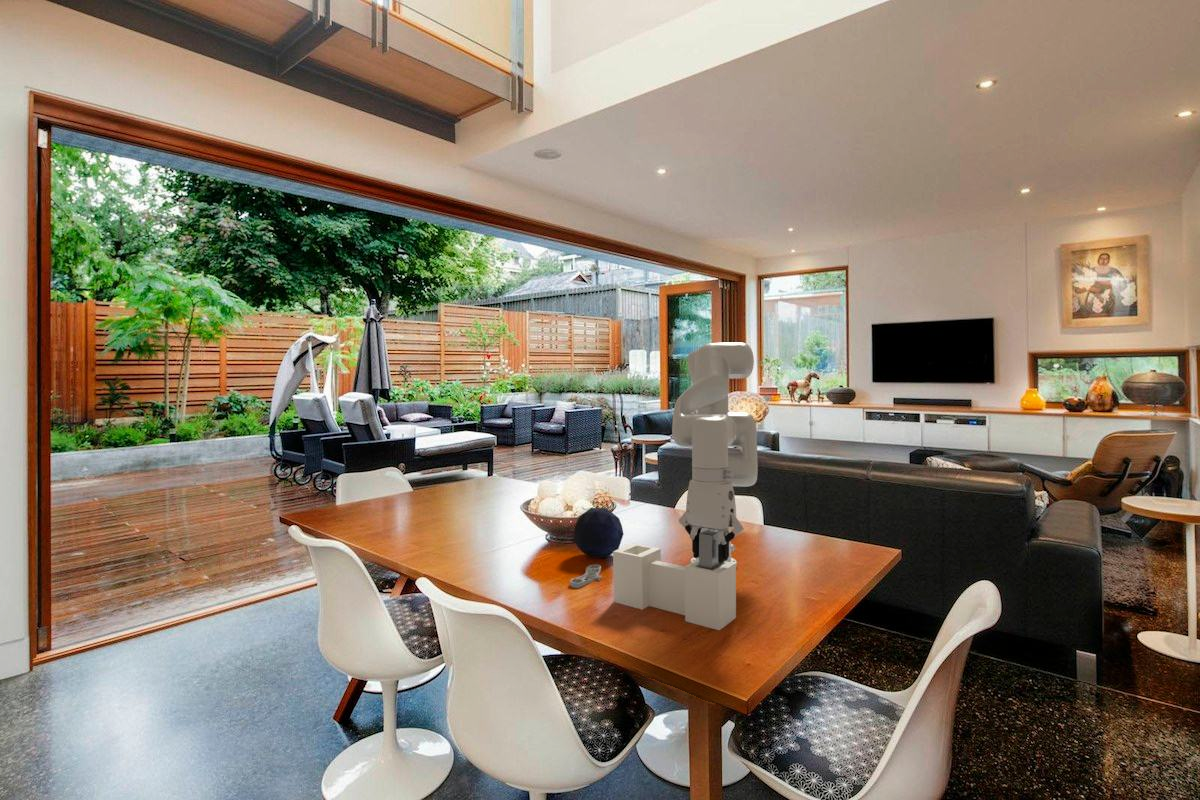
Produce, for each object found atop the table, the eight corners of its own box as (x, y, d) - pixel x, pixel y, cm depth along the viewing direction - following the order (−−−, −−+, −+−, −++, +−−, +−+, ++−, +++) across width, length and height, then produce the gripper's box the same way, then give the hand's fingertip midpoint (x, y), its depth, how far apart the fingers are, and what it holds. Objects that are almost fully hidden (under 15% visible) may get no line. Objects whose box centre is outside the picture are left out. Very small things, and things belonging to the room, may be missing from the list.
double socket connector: (633, 591, 147) (632, 543, 147) (736, 617, 131) (735, 563, 130) (613, 601, 141) (613, 551, 140) (719, 630, 125) (719, 573, 124)
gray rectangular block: (708, 578, 133) (709, 528, 132) (721, 581, 131) (722, 530, 131) (698, 584, 129) (699, 533, 128) (711, 587, 127) (712, 535, 126)
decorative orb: (622, 529, 187) (593, 492, 183) (640, 541, 172) (609, 502, 169) (587, 560, 183) (557, 524, 180) (602, 576, 169) (571, 537, 166)
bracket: (557, 578, 154) (593, 562, 166) (557, 585, 154) (593, 569, 166) (579, 584, 149) (615, 567, 161) (579, 591, 150) (615, 574, 161)
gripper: (755, 476, 127) (755, 561, 127) (683, 469, 137) (684, 548, 138) (739, 481, 121) (740, 571, 121) (666, 473, 131) (667, 556, 132)
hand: (710, 558), depth 130 cm, fingers open, 5 cm apart
